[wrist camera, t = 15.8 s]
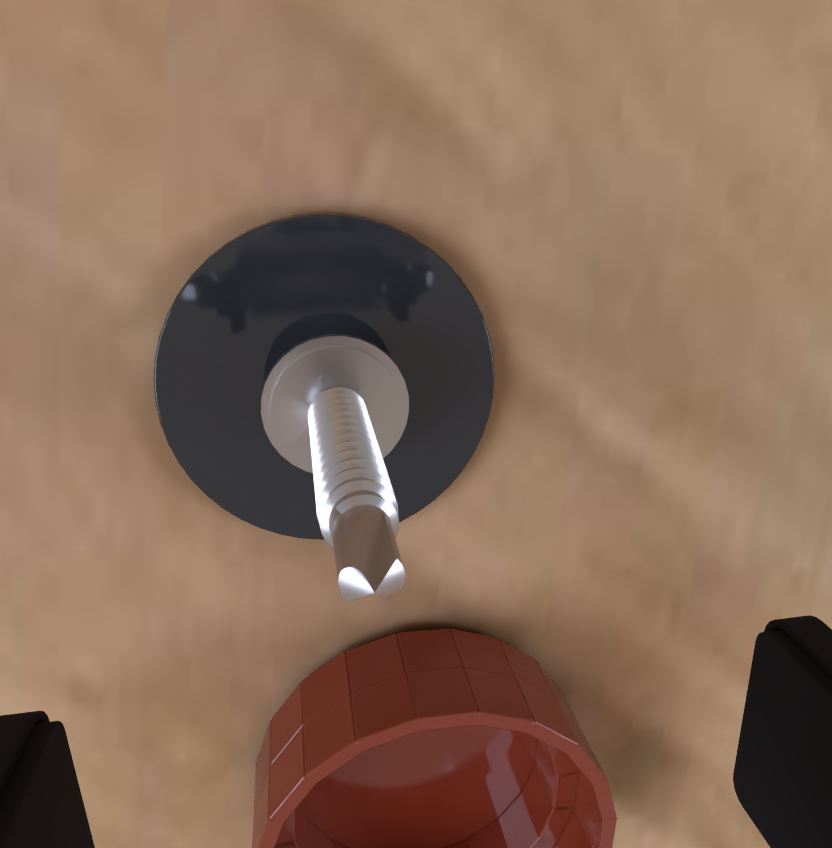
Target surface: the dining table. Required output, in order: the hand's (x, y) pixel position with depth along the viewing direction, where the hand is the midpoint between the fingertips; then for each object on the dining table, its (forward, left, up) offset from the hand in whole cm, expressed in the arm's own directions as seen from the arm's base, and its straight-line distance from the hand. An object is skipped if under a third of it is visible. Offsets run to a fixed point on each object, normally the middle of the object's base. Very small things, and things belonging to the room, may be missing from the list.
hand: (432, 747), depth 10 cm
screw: (0, 0, -17) cm, 17 cm away
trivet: (0, 0, -18) cm, 18 cm away
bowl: (+18, -2, -18) cm, 25 cm away
